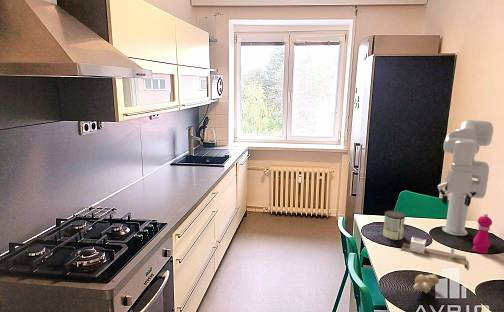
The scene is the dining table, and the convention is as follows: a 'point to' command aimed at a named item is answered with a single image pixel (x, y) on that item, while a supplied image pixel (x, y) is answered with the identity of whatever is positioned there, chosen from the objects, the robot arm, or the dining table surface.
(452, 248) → the shaft
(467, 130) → the robot arm
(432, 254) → the grey brown bent bar
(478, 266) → the dining table surface
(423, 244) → the white block
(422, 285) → the beige lumpy piece
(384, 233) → the coffee can
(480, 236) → the pepper mill
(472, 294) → the dining table surface
